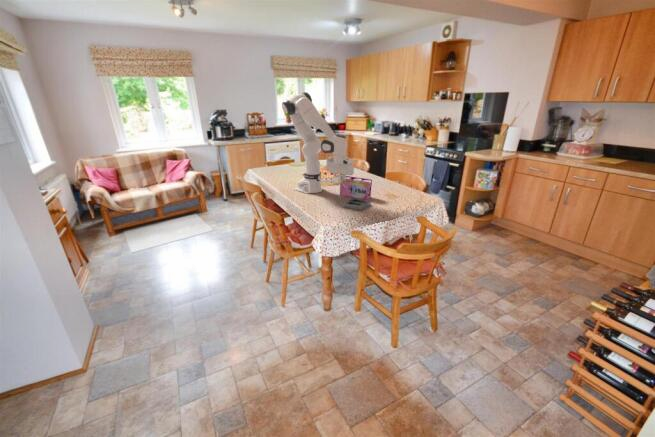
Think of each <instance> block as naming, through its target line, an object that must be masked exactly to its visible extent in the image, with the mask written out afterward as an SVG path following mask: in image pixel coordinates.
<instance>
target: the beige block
mask: <svg viewBox="0 0 655 437" xmlns="http://www.w3.org/2000/svg"><path fill="white" fill-rule="evenodd" d="M346 176H347V175H346ZM346 176H345V178H344V180H345V179H346ZM342 177H343V174H339V173H338V174H336V176H335V177H334V176H332V183H334V185H335V186H340V183H343V180H341V178H342Z"/></svg>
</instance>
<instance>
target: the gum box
mask: <svg viewBox="0 0 655 437" xmlns="http://www.w3.org/2000/svg"><path fill="white" fill-rule="evenodd" d="M372 185H373V179H371V178H365V177H364V178H363V177H357V176H351V175H346V179H345V180H343V183H340V182H339V196H343V197H347V198H349V197H350V198H356V199H361V200H366V201H368V200H369V199H370V198H371V197H372Z"/></svg>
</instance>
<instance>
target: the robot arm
mask: <svg viewBox="0 0 655 437" xmlns="http://www.w3.org/2000/svg"><path fill="white" fill-rule="evenodd" d="M281 108H282V111H283V113H284V114H285V115H286V116H290V119H291V122H292V125H293V126H294V129H295V131H296V133H297V135H298V137H299V138H300V139H301V140H302V141H303V143H304V144H303V146H302V147H301V153H302V155H303V157H304V161H305V162H304V163H305V172H304V174H303V176H304V177H303V178H301V179H300V180H299V181H298V182H297V186H296V187H295V188H294V190H295V191H298V192H300V193H302V194H303V193H304V194H316V193H321V192H323V188H322V182H321V179H322V174H321V162H320V160H319V153H320V152H321V151H322V153H323V154H328V155H329V154H333V155H332V157H333V158H331V157H328V158H327V159H326V166H325V171H326V172H328V173H332V175H333V177H335V176H337V174H338V175H339V174H343V177H342V178H341V180H344V178H345V176H352V175H353V174H354V173H355V168H354V167H355V166H354V160H353V159H352V158H351V157H348V156H347V150H348V140H347V136H346V135H344V134H342V133H341V134H340V133H335V131H334V130H333V129H332V127H331V126H330V124H329V123H328V121H327V120H326V119H325V118H324V117H323V116H322V115H321V113H320V112H319V111H318V110H317V107H316V106H315V105H314V104H313V99H312V96H311V95H310V94H309V92H306V91H304V92H301V93H298V94H295V95H293V96H291V97H289V98H288V99H285V100H283V102H282V103H281ZM312 127H313V128H316V129H319V130H321V132H322V133H323V134H324V136H325V137H326V139H323V140H322V141H321V140H320V139H319V138H318V136H317V134H316V133H315V132H314V130H313V128H312ZM353 176H354V175H353Z"/></svg>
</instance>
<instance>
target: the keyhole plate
mask: <svg viewBox="0 0 655 437" xmlns="http://www.w3.org/2000/svg"><path fill="white" fill-rule="evenodd" d="M371 202H372V201H371V200H365V199H359V198H354V197H351V198H350V199H348V200H347V201H345V202H344V203H343V204H342V207H343V208H346V209H350V210H354V211H358V212H359V211H360V212H362V211H364V210H365V209H367V208H368V207H369V206H371Z"/></svg>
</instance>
